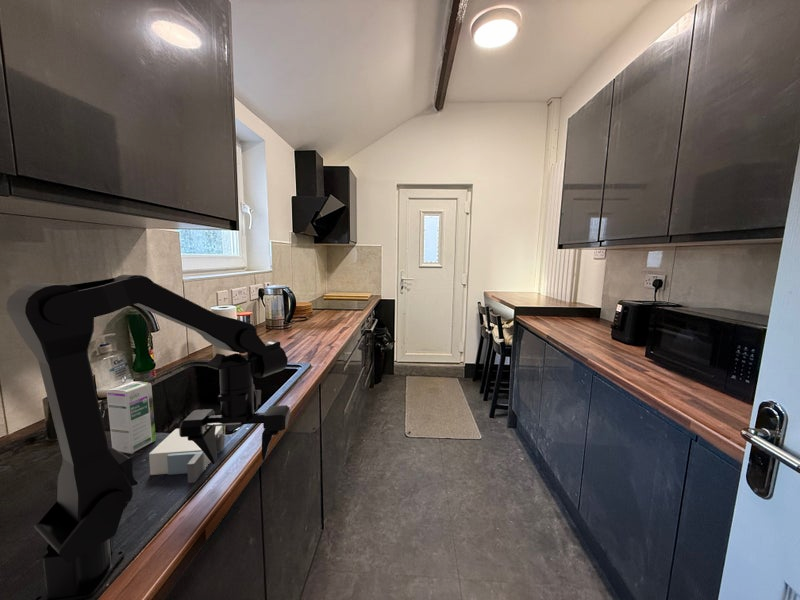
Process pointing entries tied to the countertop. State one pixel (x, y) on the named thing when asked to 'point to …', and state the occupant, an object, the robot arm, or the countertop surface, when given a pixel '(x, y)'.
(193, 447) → the camera housing
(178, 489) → the countertop surface
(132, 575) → the countertop surface
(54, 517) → the robot arm
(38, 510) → the countertop surface
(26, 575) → the countertop surface
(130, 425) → the syrup box
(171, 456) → the grey l-shaped block
